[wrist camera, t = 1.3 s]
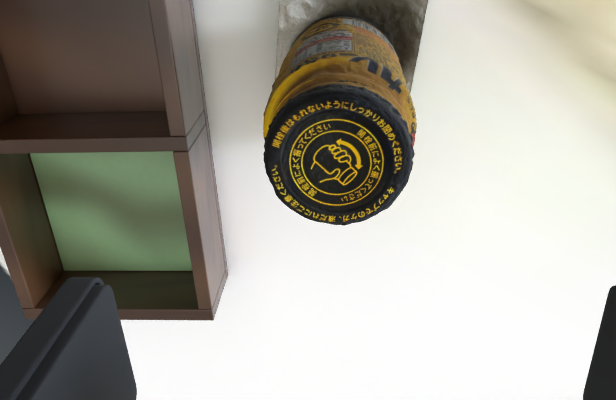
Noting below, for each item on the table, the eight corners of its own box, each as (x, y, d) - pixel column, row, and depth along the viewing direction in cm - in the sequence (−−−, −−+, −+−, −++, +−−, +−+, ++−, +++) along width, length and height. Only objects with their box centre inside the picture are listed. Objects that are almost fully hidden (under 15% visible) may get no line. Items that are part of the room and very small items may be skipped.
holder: (-53, -99, 27) (-122, -100, 23) (178, -111, 26) (147, -114, 22) (59, 275, 37) (25, 319, 33) (228, 275, 36) (213, 320, 32)
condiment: (272, 124, 31) (234, 236, 21) (283, -38, 27) (244, -3, 17) (401, 139, 31) (430, 258, 21) (431, -22, 27) (485, 23, 17)
